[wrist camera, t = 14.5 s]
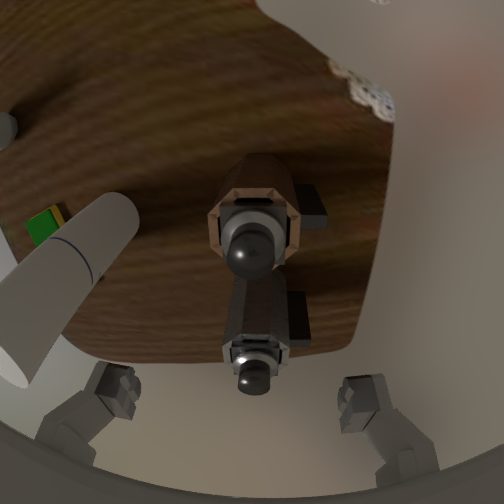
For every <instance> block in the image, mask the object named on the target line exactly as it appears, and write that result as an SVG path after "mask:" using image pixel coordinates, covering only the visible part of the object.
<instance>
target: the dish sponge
mask: <svg viewBox="0 0 504 504" xmlns="http://www.w3.org/2000/svg"><path fill="white" fill-rule="evenodd" d="M64 224H65V222H64V220H63V218H62V215H61V213H60V211H59V209H58V207H57V206H56V205H53V206H51V207H49V208H48V209H46V210H44V211H43V212H41V213H39V214H38V215H36V216H34V217H33V218H31V219H30V220H28V221H27V222H26V224H25V225H26V227H27V229H28V231H29V233H30V235H31V237H32V239H33V241H34V243H35V245H36V247H38V246H39V245H40V244H42V243H43V242H44V241H45V240H46V239H47V238H49V237H50V236H51V235H52V234H53V233H54V232H56V231H57V230H58V229H59V228H60V227H62V226H63V225H64Z"/></svg>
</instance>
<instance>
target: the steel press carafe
mask: <svg viewBox="0 0 504 504" xmlns="http://www.w3.org/2000/svg"><path fill="white" fill-rule="evenodd" d="M253 339H261V342H253ZM310 343H311V334H310V326H309V319H308V311H307V304H306V297H305V292H300V291H287V287H286V276H285V275H284V274H283V273H282V272H281V271H279V270H278V269H277V268H275V269H273V270H272V271H271V272H270V273H269V274H268V275H266V276H265V277H263V278H260V279H256V280H248V279H243V278H241V277H239V276H237V275H235V278H234V284H233V289H232V295H231V300H230V305H229V311H228V316H227V322H226V327H225V333H224V339H223V344H222V349H223V356H224V363H225V364H227V365H228V366H230V367H232V368H233V362H234V359H235V358H236V357H237V356H238V355H239V354H241V353H244V352H247V351H261V352H265V353H268V354H270V355H272V356H273V357H274V358H275V359H276V361H277V363H278V370H280V369H282V368H283V367H285V366H287V365H288V359H289V351H290V347H310ZM278 370H277V373H276V374H275V375H274V376H278ZM234 374H235V375H237V374H236V373H235V372H234Z"/></svg>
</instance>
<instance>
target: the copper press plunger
mask: <svg viewBox="0 0 504 504" xmlns="http://www.w3.org/2000/svg"><path fill="white" fill-rule="evenodd" d="M262 201H263V198H253V202H262ZM221 245H222V249H223V251H224V253H225V255H226V256H227V264H228V266H229V268H230V270H231V271H232V272H233V273H234V274H235V275H237V276H239V277H241V278H243V279H248V280H256V279H260V278H263V277H265V276H266V275H268V274H269V273H270V272H271V271H272V269H273V267H274V264H275V262H276V261H277V260H278V259H279V257H280V256H281V254H282V253H283V250H284V247H285V235H284V231H283V228H282V226H281V224H280V223H279V221H278V220H277V219H276V218H274V217H273V216H272V215H270V214H268V213H266V212H264V211H260V210H245V211H241V212H239V213H237V214H235V215H233V216H232V217H231V218H230V219H229V220H228V221H227V223H226V224H225V226H224V228H223V231H222V235H221Z"/></svg>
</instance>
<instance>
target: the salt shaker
mask: <svg viewBox="0 0 504 504" xmlns="http://www.w3.org/2000/svg"><path fill="white" fill-rule="evenodd" d="M17 131H18V125H17V119H16V118H15V117H13V116H11V115H9V114H7V113H4V112H0V150H2V149H4V148H5V147H7V146H8V145H9V144H10V143H11V142H12V141H13V140H14V139H15V136H16V134H17Z"/></svg>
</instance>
